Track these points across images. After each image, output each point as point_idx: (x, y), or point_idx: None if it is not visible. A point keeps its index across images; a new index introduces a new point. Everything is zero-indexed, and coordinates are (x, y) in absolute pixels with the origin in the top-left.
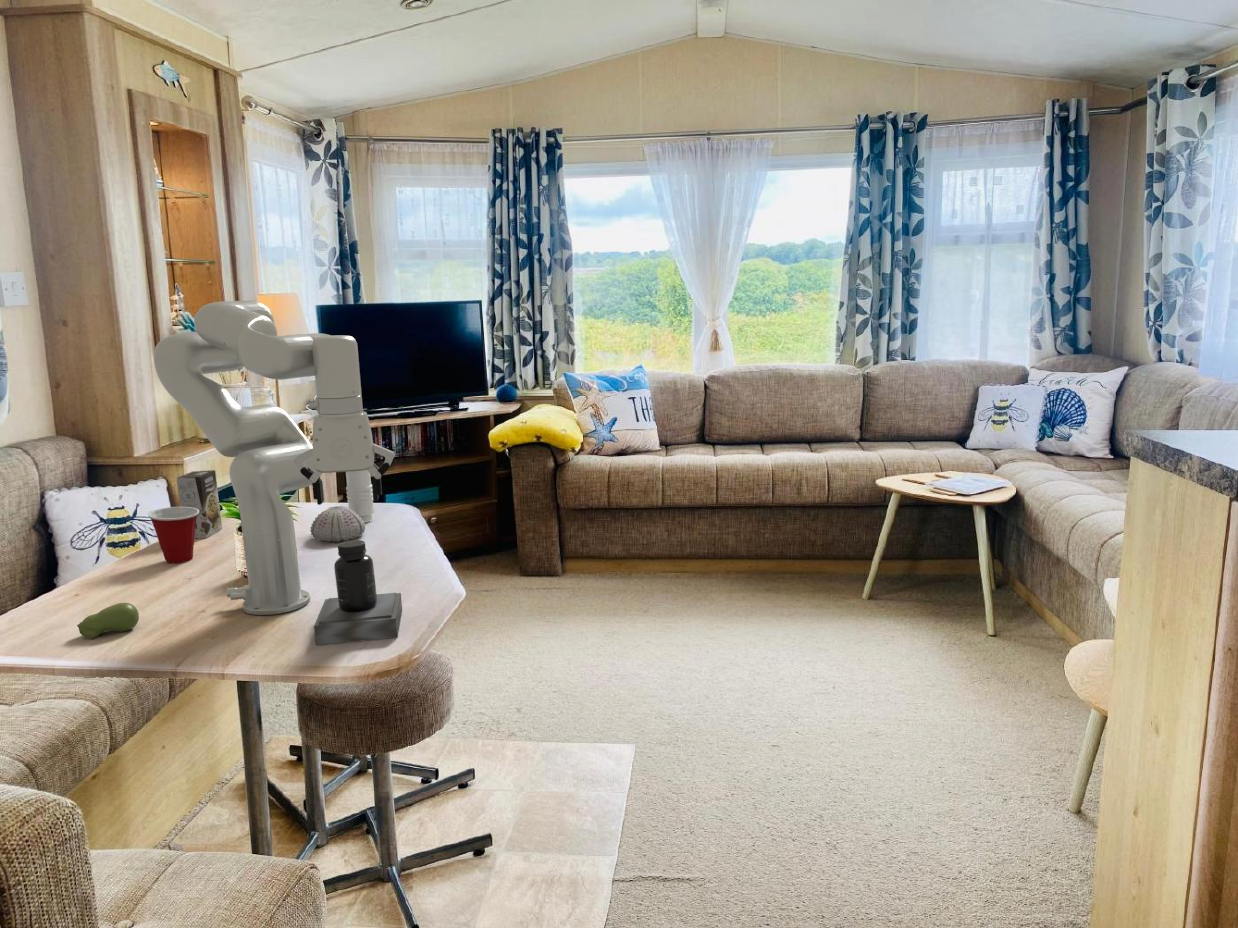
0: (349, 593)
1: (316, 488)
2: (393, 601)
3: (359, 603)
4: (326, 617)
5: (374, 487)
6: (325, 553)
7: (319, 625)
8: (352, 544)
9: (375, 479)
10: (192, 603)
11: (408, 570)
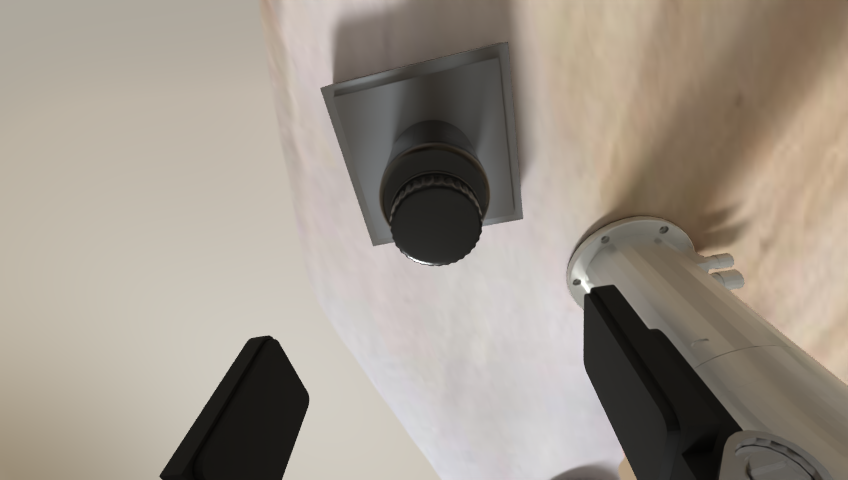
0: (435, 127)
1: (677, 375)
2: (363, 187)
3: (414, 126)
4: (487, 87)
5: (214, 409)
6: (580, 452)
7: (494, 45)
8: (428, 218)
9: (162, 478)
10: (787, 282)
11: (431, 390)
